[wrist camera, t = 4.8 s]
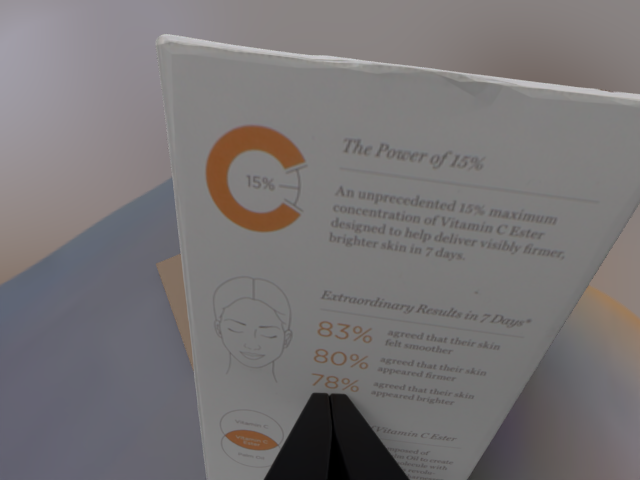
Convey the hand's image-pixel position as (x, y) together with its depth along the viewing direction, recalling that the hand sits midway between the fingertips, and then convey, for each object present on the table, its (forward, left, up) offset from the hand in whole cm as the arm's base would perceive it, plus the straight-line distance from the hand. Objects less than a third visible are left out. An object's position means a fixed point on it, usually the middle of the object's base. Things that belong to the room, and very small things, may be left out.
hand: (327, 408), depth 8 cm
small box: (0, 0, -7) cm, 7 cm away
